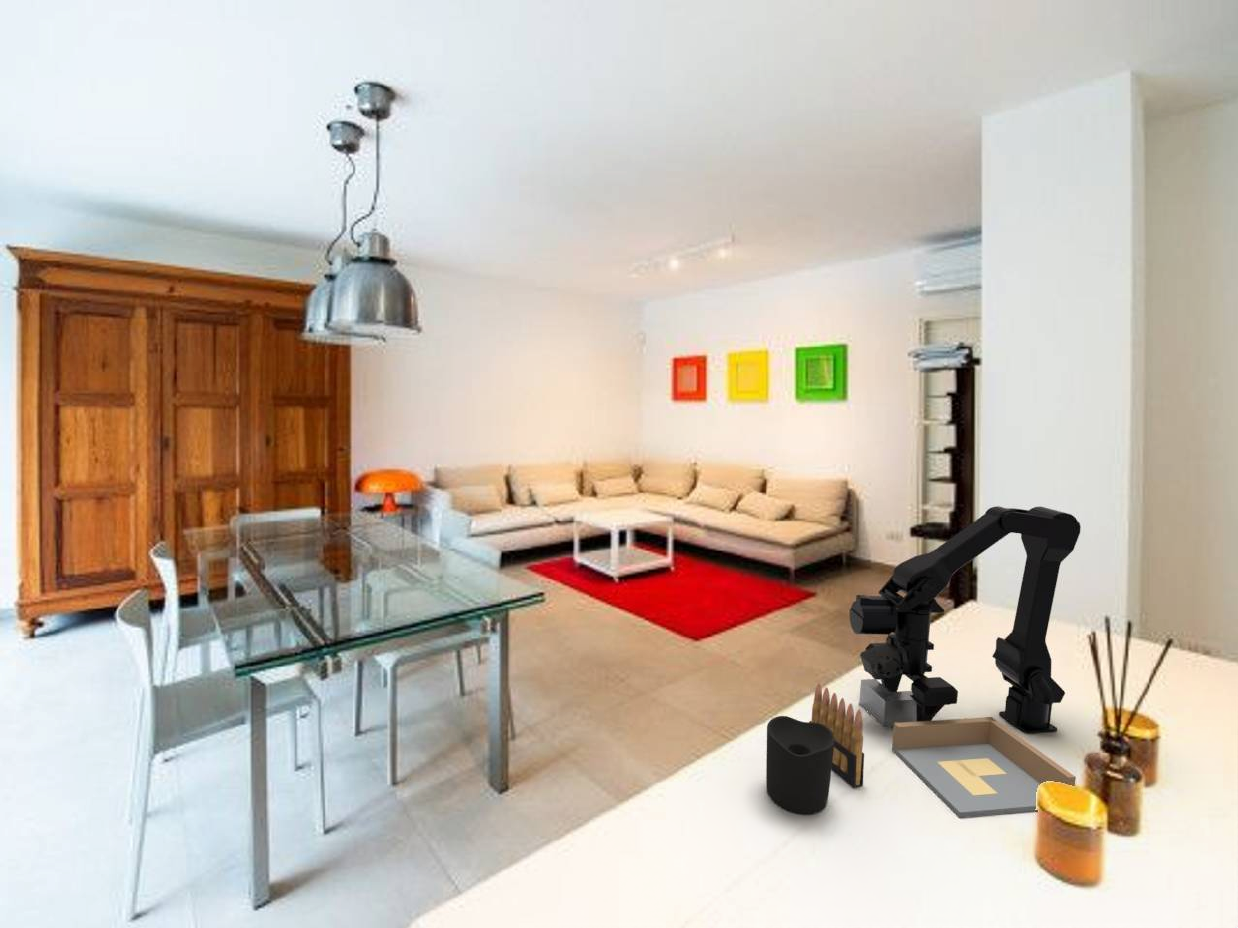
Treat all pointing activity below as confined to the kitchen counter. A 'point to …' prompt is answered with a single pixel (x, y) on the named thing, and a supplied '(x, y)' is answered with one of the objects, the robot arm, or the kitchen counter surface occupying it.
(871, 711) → the angle bracket
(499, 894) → the kitchen counter surface
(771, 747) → the pen holder
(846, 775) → the ammunition clip
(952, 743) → the arena
